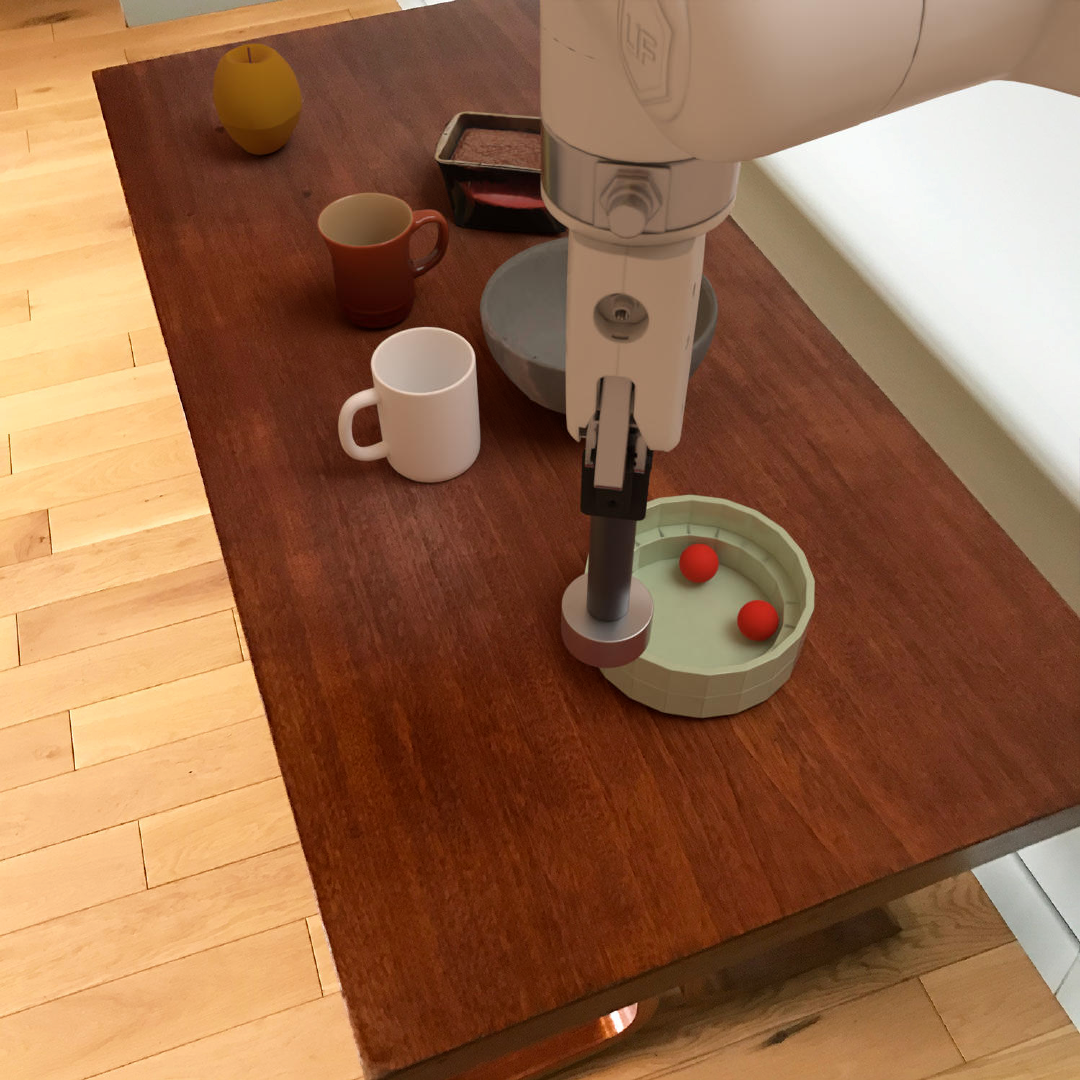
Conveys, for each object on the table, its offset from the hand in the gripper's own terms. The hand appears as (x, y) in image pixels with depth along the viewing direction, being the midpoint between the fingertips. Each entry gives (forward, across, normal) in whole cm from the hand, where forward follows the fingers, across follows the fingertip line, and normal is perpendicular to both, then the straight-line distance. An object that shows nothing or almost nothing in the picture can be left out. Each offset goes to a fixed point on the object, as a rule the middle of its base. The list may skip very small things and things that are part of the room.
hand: (616, 488), depth 56 cm
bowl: (+28, +38, +5) cm, 48 cm away
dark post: (+12, 0, 0) cm, 12 cm away
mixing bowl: (+27, +12, -6) cm, 30 cm away
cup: (+28, +27, +19) cm, 43 cm away
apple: (+28, +73, +47) cm, 91 cm away
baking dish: (+28, +67, +16) cm, 74 cm away
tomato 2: (+25, +12, -10) cm, 30 cm away
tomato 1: (+25, +17, -6) cm, 31 cm away
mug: (+28, +47, +26) cm, 60 cm away
